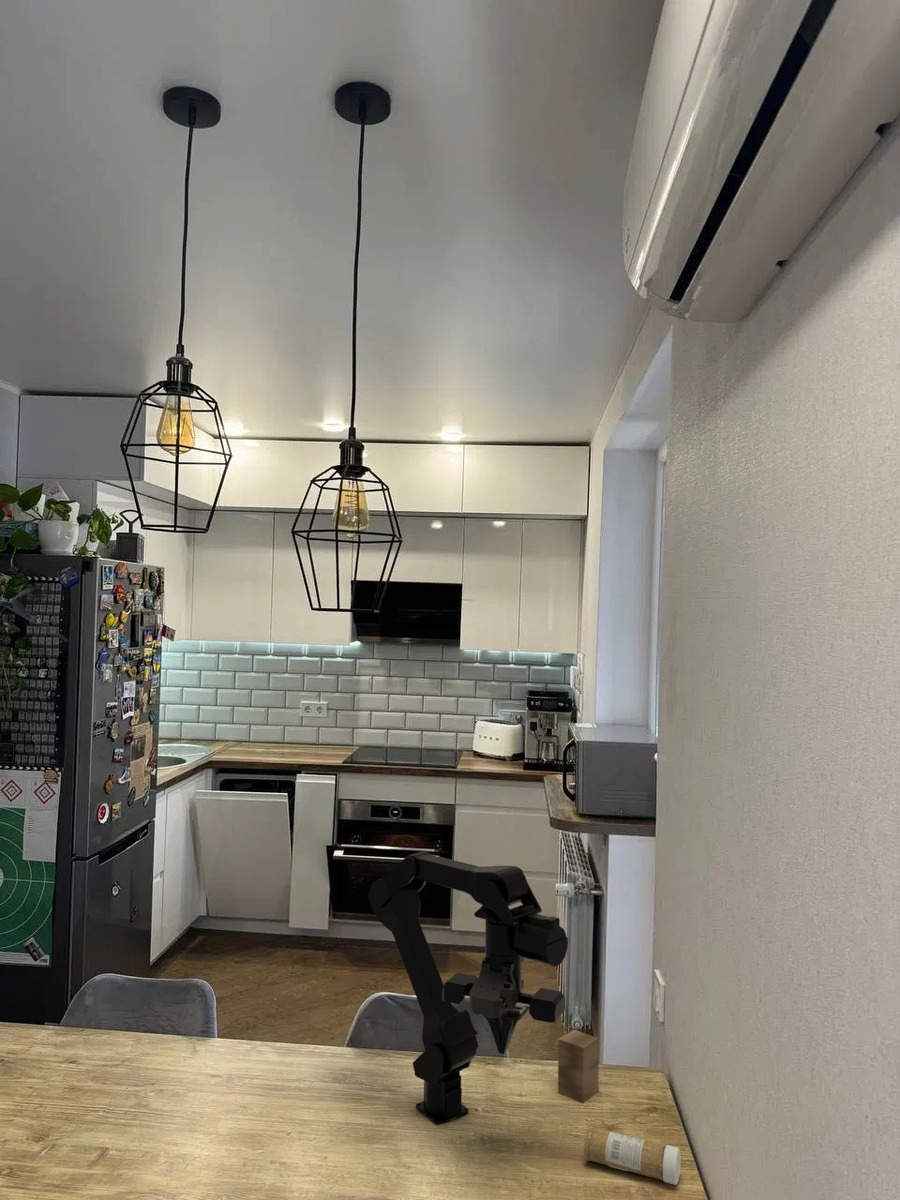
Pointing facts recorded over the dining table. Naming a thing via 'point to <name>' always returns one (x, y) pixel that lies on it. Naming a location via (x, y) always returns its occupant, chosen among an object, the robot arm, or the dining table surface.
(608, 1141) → the sprinkles bottle
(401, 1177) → the dining table surface
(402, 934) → the robot arm
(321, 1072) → the dining table surface
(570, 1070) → the walnut block
